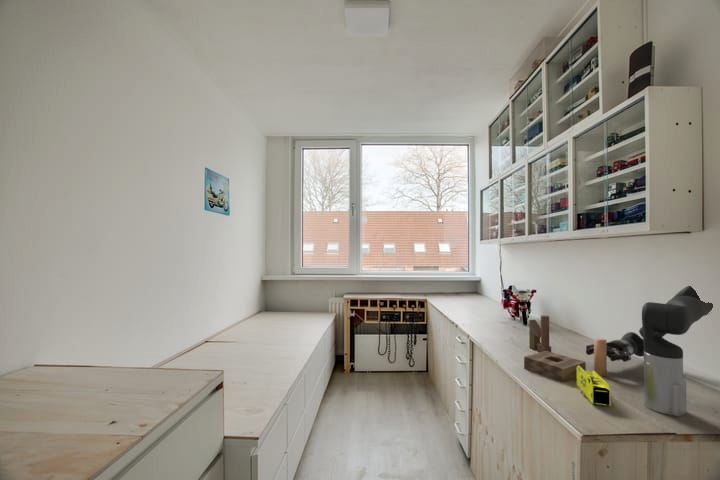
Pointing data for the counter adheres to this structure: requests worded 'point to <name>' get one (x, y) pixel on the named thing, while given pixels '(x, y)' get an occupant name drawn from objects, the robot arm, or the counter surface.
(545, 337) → the wooden block
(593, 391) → the yellow toy chassis
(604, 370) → the pin
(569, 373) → the socket block
